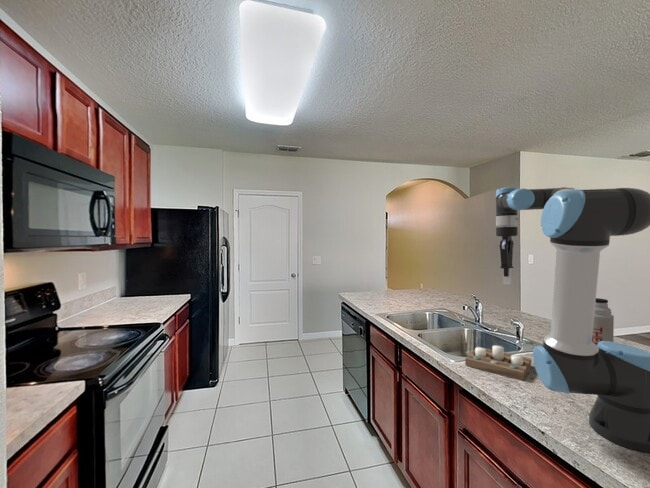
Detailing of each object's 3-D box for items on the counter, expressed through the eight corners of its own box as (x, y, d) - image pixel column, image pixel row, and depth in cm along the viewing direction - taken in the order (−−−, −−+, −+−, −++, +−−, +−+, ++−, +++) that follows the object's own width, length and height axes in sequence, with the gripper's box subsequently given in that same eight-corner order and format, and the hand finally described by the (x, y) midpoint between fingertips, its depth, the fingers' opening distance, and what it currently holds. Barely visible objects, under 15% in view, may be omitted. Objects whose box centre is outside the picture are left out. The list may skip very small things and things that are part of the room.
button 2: (502, 362, 120) (502, 349, 120) (491, 359, 123) (491, 347, 123) (504, 359, 123) (504, 346, 123) (493, 356, 126) (493, 344, 126)
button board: (523, 380, 111) (523, 371, 110) (465, 365, 124) (465, 357, 124) (531, 365, 122) (531, 357, 122) (477, 353, 136) (477, 346, 136)
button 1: (521, 373, 116) (521, 360, 116) (509, 369, 119) (509, 357, 119) (523, 369, 119) (523, 356, 119) (512, 366, 122) (512, 354, 122)
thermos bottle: (605, 379, 110) (605, 302, 109) (579, 370, 117) (580, 298, 116) (618, 375, 112) (618, 300, 111) (592, 366, 120) (593, 296, 119)
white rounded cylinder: (484, 363, 125) (484, 351, 125) (474, 361, 128) (473, 349, 127) (487, 360, 128) (487, 348, 128) (477, 358, 130) (476, 346, 130)
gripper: (513, 226, 117) (514, 287, 118) (520, 226, 126) (520, 282, 127) (492, 226, 122) (492, 285, 123) (500, 226, 132) (500, 281, 132)
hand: (506, 284), depth 125 cm, fingers closed
